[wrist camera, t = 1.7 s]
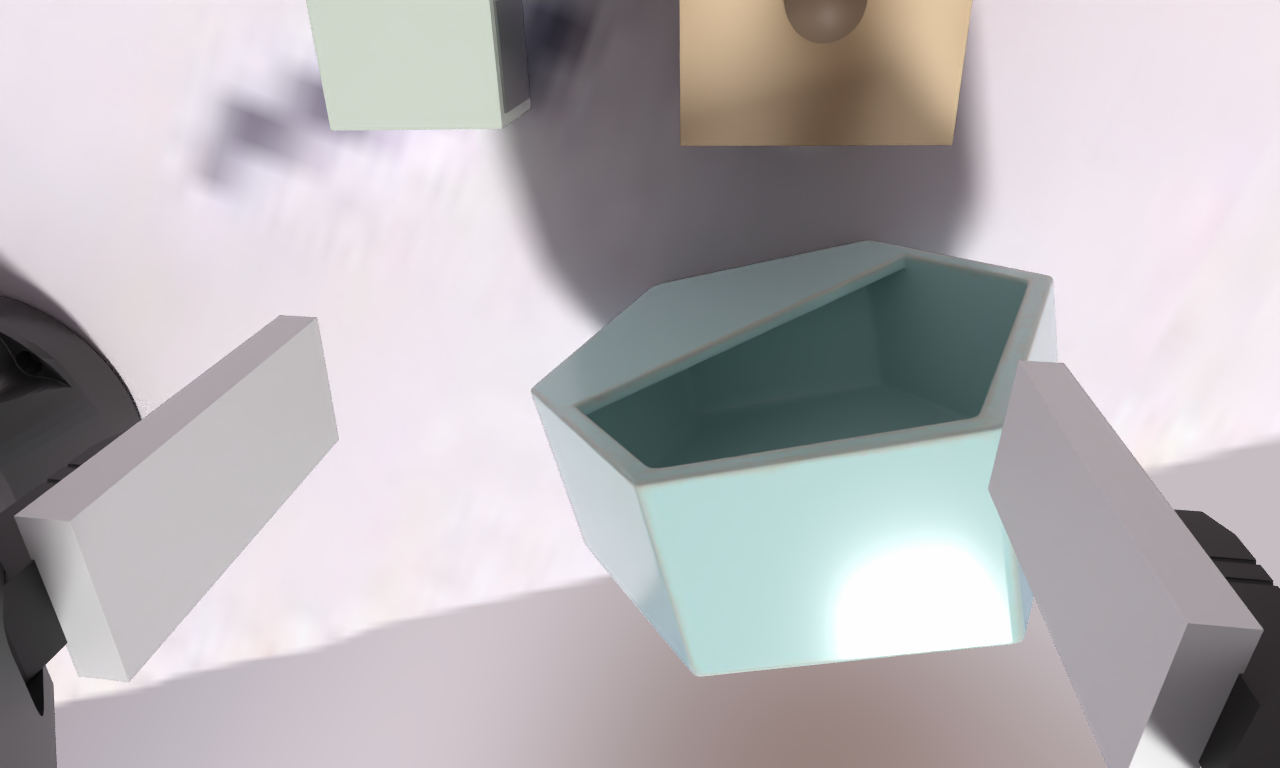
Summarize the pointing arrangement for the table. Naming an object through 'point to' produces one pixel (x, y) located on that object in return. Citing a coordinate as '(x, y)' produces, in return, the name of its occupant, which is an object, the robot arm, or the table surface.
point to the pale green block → (421, 63)
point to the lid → (820, 71)
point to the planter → (805, 454)
